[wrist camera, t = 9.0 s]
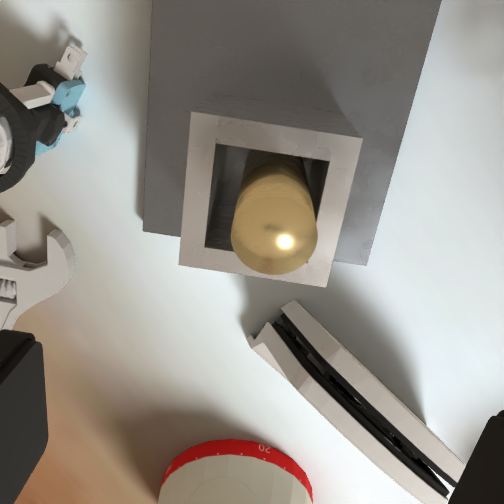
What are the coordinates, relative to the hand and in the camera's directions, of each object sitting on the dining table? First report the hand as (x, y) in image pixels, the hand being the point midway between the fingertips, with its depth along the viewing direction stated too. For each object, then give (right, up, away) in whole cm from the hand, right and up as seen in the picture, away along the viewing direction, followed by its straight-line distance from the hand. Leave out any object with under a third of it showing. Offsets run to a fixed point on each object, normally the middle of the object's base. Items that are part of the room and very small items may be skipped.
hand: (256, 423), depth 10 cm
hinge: (+8, -6, +26) cm, 28 cm away
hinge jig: (+1, +13, +17) cm, 22 cm away
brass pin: (+1, +9, +18) cm, 20 cm away
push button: (-12, +13, +18) cm, 25 cm away
